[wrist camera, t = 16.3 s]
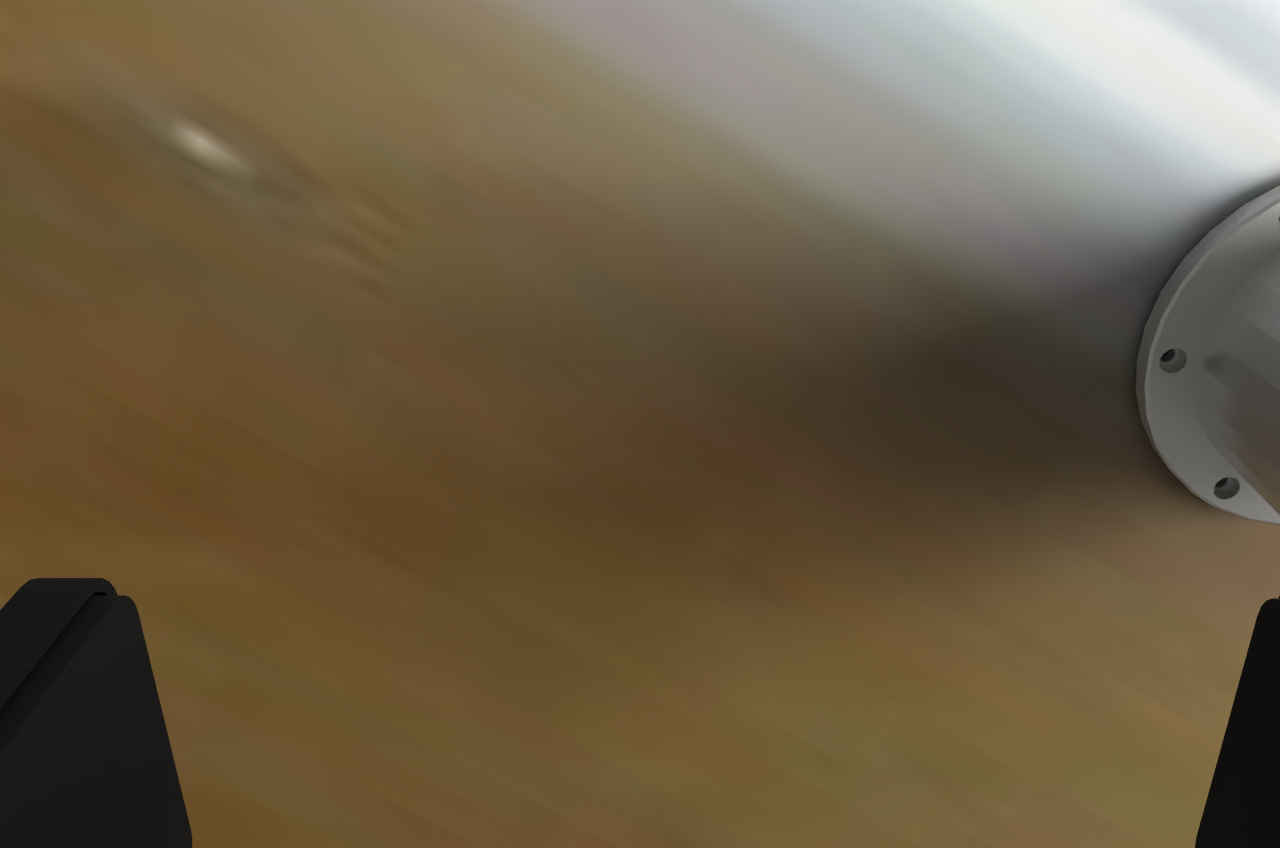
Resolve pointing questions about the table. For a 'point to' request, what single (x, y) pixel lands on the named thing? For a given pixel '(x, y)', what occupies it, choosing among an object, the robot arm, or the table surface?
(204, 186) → the table surface
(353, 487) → the table surface
